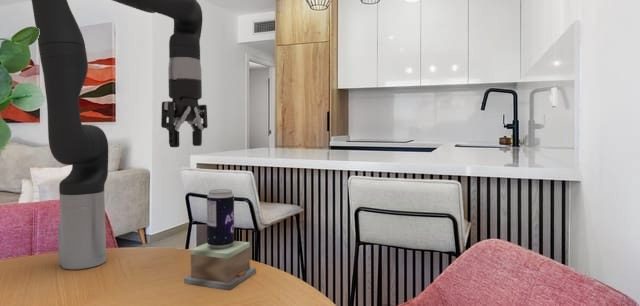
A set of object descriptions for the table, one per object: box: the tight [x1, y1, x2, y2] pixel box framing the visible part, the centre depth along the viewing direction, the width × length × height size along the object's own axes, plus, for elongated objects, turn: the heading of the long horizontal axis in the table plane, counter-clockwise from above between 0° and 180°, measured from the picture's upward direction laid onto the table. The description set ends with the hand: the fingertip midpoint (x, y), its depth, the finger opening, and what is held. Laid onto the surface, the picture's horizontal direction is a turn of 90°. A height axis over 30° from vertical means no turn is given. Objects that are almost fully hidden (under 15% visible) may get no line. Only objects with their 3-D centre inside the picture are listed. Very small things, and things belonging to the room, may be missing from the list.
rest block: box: [183, 240, 257, 291], centre depth 88 cm, size 11×11×7 cm
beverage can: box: [206, 188, 235, 249], centre depth 88 cm, size 6×6×12 cm
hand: (186, 146), depth 98 cm, fingers open, 8 cm apart
